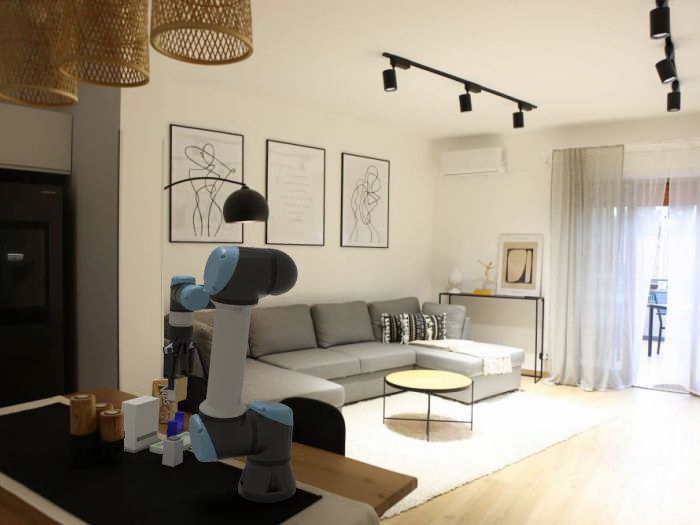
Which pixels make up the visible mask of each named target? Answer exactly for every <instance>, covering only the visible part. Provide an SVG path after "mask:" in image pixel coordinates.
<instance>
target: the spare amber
mask: <svg viewBox="0 0 700 525" xmlns="http://www.w3.org/2000/svg"><path fill="white" fill-rule="evenodd" d="M176 380H177V397H176V402H178V403H179V402H181V401H183V400H186V398H187V394H186V386H187V387H188V385H187V377H184V375H181V373H180V374H179V373H177V374H176ZM167 400H168V393H167ZM171 401H173V400H171Z"/></svg>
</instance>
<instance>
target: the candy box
mask: <svg viewBox="0 0 700 525" xmlns="http://www.w3.org/2000/svg"><path fill="white" fill-rule="evenodd" d="M151 383H152V386H151V387H152V388H151V389H152V390H151V397H156V398H160V405H159V424H168V421H171V420H174V418H175V412H178V403H179V401H178V402H176V401H171V400H167V393H168V379H166V378H153V380H152V382H151Z"/></svg>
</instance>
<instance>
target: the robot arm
mask: <svg viewBox="0 0 700 525" xmlns="http://www.w3.org/2000/svg"><path fill="white" fill-rule="evenodd" d="M203 270H204V271H203V284H197V280H196V277H195V276H191V275H173V276H172V277H171V279H170V286H169V288H170V290H169V292H170V293H169V315H168V318H169V319H168V324H169V325H168V331H167V335H168V338H170V340H169V343H168V345H167V346H163V347H162V353H163V362H162V363H163V365H162V371H163V372H162V377H163V378H162V379H168V400H173V401H176V397H177V380H176V374H178V368H180V375H184V377H187V386H186V395H187V393H188V390H187V388H188V386H189V385H188V383H189V377H192V374H193V373H194V364H195V351H196V349H197V348H196V347H197V342H192V340H191V339H192V338H193V336H194V326H193V324H194V323H195V322H194V321H195V312H198V311H202V310H214V311H215V312H214V321H213V328H212V329H213V331H212V339H211V341H212V342H211V348H210V350H211V351H210V360H209V372H208V379H207V387H206V389H207V390H206V399H204V400H203V401H202V402H201V403H200V404H199V406H198V407H199V408H198V413H195V414H193V415H192V414H191V416H190V418H189V422H188V432H189V434H190V440H191V445H192V448H191V449H192V451H193V454H194V456H195V458H196V459H197V460H198V461H199V462H202V463H208V462H218V461H224V460H230V459H236V458H237V459H238V458H243V457H244V458H245V457H246V460H245V461H246V462H245V466H244V467H243V471H242V473H241V476H240V478H239V480H238V489H237V490H238V495H240V497H241V498H243V499H245V500H246V501H250V502H254V503H260V504H261V503H262V504H263V503H265V504H269V503H270V504H271V503H278V502H283V501H286V500H288V499H291V498H292V497H293V496H295V494H296V493H297V492H296V489H297V481H296V478H295V473H294V470H293V465H292V462H291V461H292V445H293V428H294V427H293V426H294V412H293V410H292V408H291V407H289V406H288V405H286V404H283V403H280V402H276V401H271V400H270V401H269V400H254V401H251V402H250V403H249V405H248V409H247V405H246V404H245V403H244V402H243V401H242V399H243V398H242V397H243V387H244V379H245V370H246V361H247V360H246V359H247V352H248V351H247V350H248V344H249V343H248V342H249V334H250V324H251V323H250V322H251V317H252V316H251V315H252V310H253V309H254V308H256V306H258V304H259V300H261V299H263V298H266V297H268V296H273V297H275V296H276V297H278V296H280V295H283V294H286V293H288V292H289V291H291V290H292V289H293V288H294V286H295V285H296V284H297V281H298V277H299V276H298V275H299V272H298V267H297V264H296V263H295V261H294V259H293V258H292V257H291V256H290V255H289V254H287V253H286V252H284V251H283V250H281V249H277V248H270V247H268V248H267V247H254V246H253V247H252V246H240V245H239V246H238V245H221V246H217V247H215V248H214V249H213V250H212V251H211V253H210V254H209V255H208V258H207V261H206V263H205V265H204V269H203ZM179 366H180V367H179Z"/></svg>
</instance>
